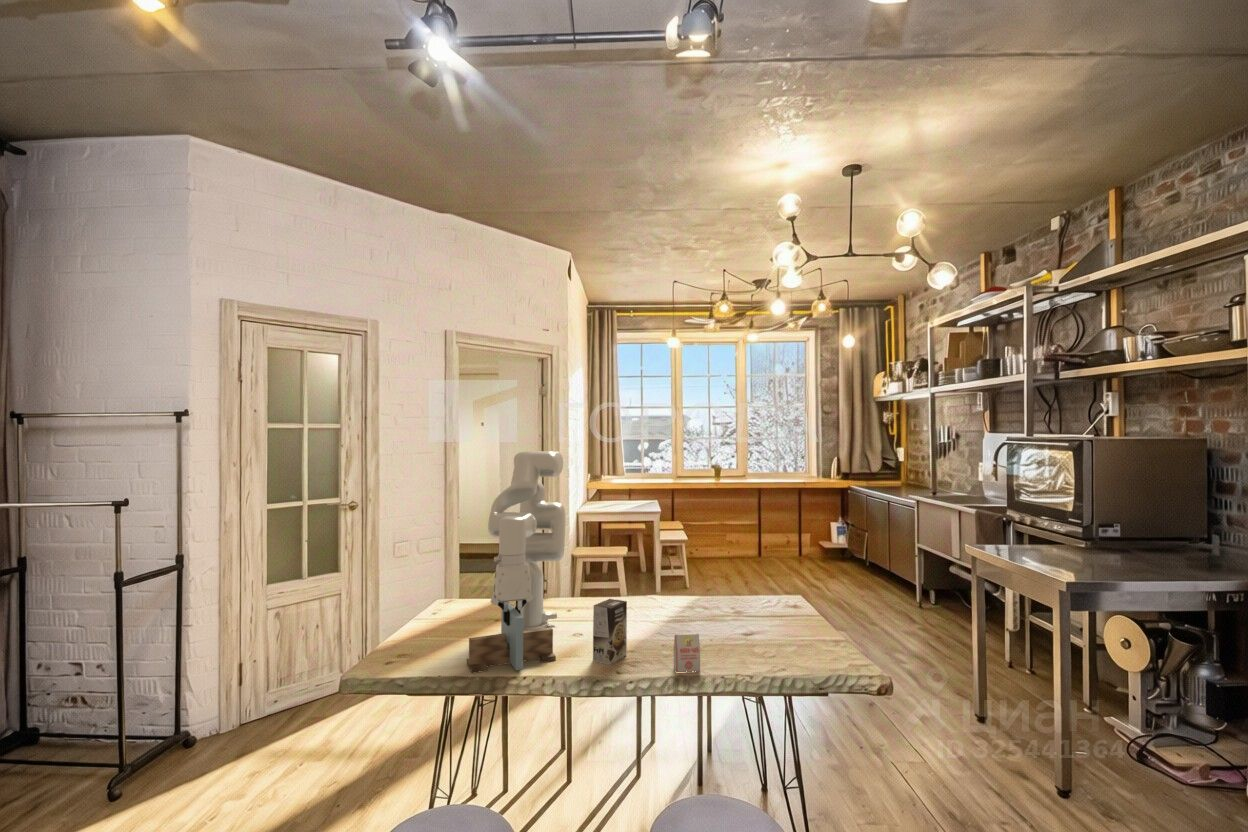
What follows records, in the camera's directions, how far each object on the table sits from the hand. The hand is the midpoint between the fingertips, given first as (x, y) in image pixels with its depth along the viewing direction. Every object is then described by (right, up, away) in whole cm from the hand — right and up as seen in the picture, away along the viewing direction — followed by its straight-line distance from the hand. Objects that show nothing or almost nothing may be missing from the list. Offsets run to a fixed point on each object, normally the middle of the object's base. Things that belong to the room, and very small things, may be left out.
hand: (511, 623), depth 176 cm
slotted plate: (0, -10, 0) cm, 10 cm away
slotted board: (0, -11, 0) cm, 11 cm away
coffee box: (+28, -11, +2) cm, 31 cm away
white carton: (+50, -11, -7) cm, 51 cm away
